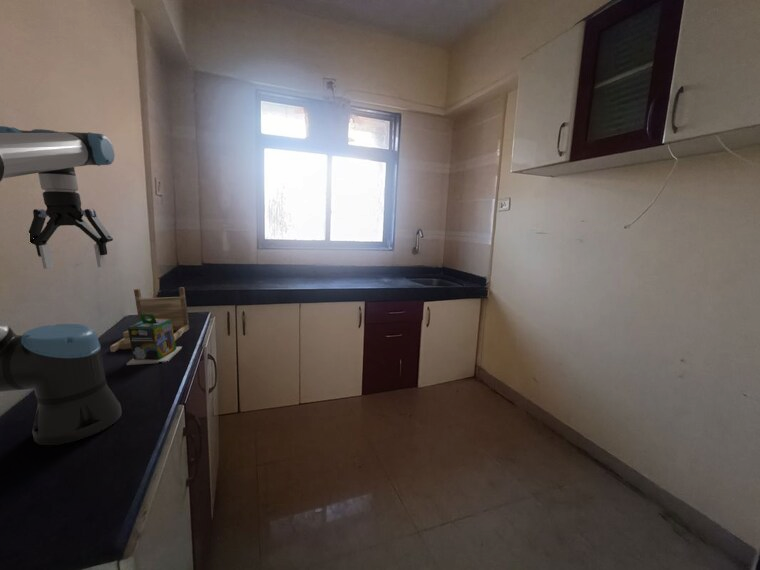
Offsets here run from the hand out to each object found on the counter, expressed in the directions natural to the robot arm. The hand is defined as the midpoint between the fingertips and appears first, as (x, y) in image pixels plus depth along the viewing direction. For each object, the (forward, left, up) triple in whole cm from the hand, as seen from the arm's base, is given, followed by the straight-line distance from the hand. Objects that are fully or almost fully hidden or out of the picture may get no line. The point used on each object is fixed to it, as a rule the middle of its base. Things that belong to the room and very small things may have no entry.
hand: (76, 267), depth 97 cm
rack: (+27, -4, -33) cm, 43 cm away
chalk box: (+9, -13, -32) cm, 36 cm away
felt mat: (+9, -13, -33) cm, 36 cm away
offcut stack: (+20, -4, -33) cm, 39 cm away
